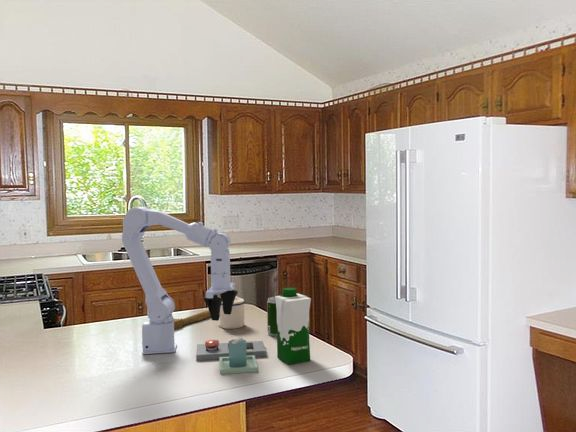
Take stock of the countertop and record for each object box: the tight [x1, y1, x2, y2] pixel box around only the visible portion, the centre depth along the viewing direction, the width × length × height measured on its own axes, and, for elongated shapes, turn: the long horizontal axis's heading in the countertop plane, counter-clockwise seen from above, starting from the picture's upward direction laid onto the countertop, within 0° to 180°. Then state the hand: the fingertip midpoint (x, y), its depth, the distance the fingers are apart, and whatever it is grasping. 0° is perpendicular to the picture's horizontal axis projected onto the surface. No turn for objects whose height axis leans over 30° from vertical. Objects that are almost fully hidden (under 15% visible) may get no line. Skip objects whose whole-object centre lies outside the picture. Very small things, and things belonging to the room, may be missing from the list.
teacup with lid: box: [219, 295, 246, 330], centre depth 185 cm, size 12×9×12 cm
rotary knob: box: [228, 337, 247, 368], centre depth 142 cm, size 5×5×7 cm
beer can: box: [266, 296, 277, 337], centre depth 173 cm, size 5×5×12 cm
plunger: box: [204, 339, 220, 351], centre depth 153 cm, size 4×4×3 cm
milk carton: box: [274, 286, 312, 366], centre depth 147 cm, size 9×9×20 cm
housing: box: [195, 340, 267, 361], centre depth 154 cm, size 20×10×2 cm, turn 98°
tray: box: [218, 355, 259, 375], centre depth 143 cm, size 10×10×1 cm
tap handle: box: [174, 309, 211, 331], centre depth 187 cm, size 3×3×30 cm
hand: (221, 317), depth 157 cm, fingers open, 7 cm apart
